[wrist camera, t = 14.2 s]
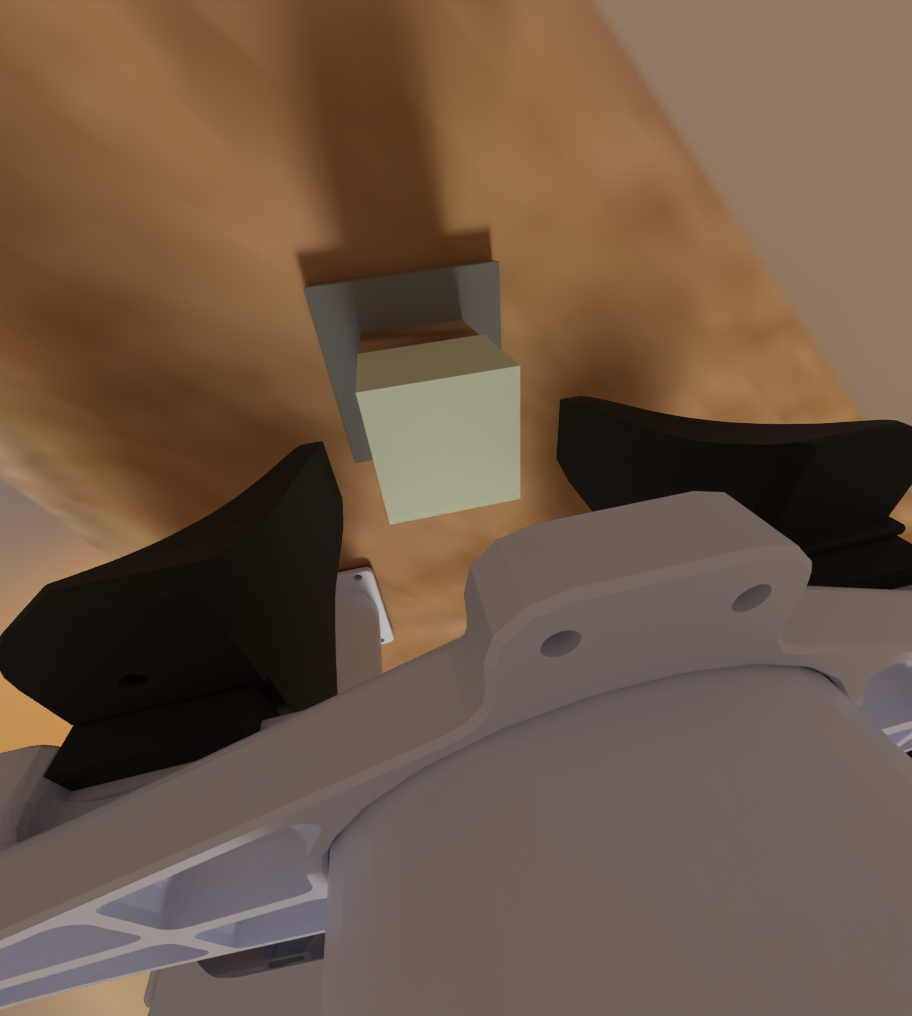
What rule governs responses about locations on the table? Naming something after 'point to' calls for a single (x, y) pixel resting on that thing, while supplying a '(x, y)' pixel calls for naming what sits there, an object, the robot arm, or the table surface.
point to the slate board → (396, 320)
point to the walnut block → (414, 335)
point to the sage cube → (442, 425)
